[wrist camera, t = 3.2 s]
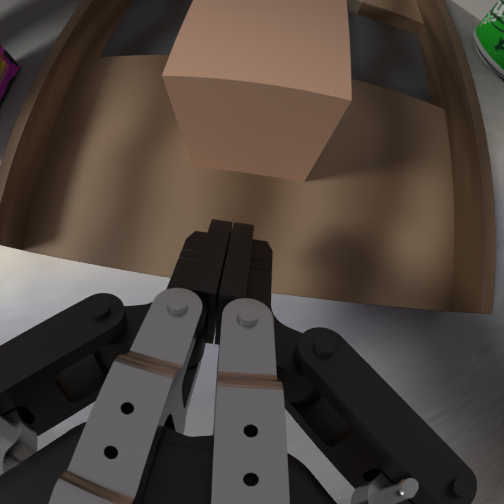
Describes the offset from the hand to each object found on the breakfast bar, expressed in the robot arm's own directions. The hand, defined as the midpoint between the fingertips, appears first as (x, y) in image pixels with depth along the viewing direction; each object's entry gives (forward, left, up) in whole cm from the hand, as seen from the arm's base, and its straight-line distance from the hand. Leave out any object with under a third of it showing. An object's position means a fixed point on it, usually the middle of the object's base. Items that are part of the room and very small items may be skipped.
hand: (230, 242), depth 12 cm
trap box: (+7, +15, -7) cm, 18 cm away
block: (+3, +7, -5) cm, 9 cm away
